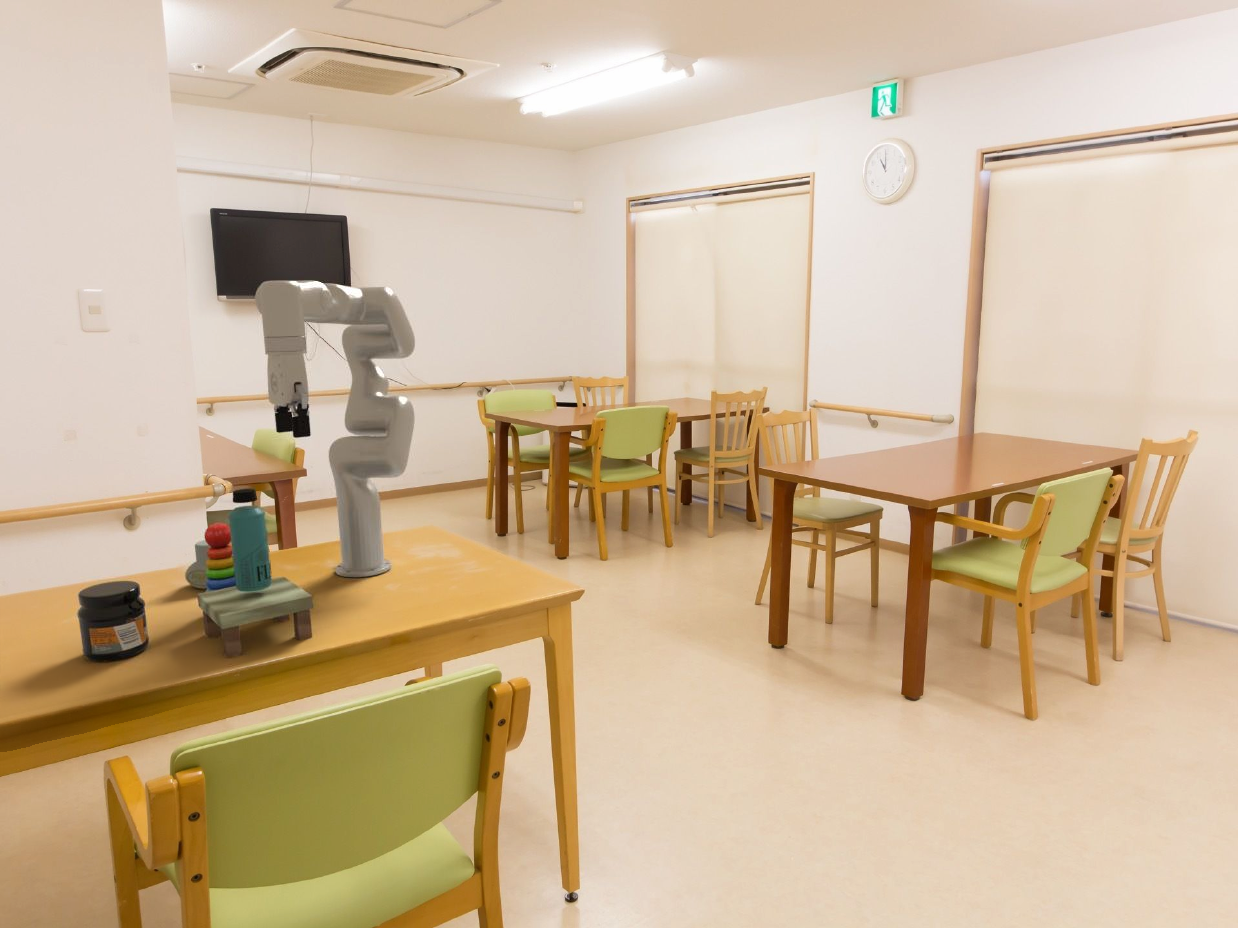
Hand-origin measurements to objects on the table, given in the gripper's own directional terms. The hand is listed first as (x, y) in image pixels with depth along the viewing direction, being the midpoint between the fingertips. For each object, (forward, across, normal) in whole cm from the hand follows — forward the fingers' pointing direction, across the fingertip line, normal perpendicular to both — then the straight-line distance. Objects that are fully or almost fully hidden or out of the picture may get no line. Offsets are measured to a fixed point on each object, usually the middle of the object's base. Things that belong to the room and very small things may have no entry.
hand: (293, 434), depth 170 cm
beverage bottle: (+28, +6, -12) cm, 32 cm away
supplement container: (+37, -2, -34) cm, 50 cm away
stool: (+36, +7, -12) cm, 39 cm away
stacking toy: (+36, -10, -13) cm, 40 cm away
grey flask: (+37, -32, -10) cm, 50 cm away
